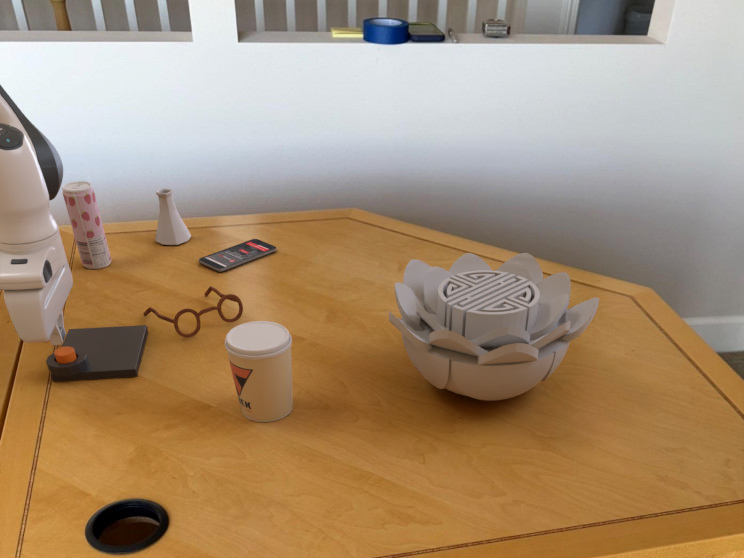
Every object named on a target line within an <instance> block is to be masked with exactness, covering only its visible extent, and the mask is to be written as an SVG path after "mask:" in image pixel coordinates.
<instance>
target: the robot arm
mask: <svg viewBox="0 0 744 558" xmlns="http://www.w3.org/2000/svg"><path fill="white" fill-rule="evenodd" d="M63 179H64V165H63V161H62V158H61V156H60V154H59V152H58V150H57V149H56V147H55V145H54V144H53V143H52V142H51V141H50V139H49V138H48V137H47V136H46V135H45V134H44V133H43V132H42V131H40V130H39V128H37V127H36V125H35V124H34V123H33V122H32V121H30V120H29V118H28V117H27V116H26V115H25V114H24V113H23V111H22V110H21V109H20V108H19V107H18V105H17V104H16V103H15V101H14V99H12V97H11V96H10V95H9V94H8V93H7V91H6V90H5V89H4V87H3V86H2V85H1V84H0V291H3V299H4V304H5V306H6V310H7V313H8V314H9V317H10V319H11V322H12V325H13V327H14V330H15V331H16V333H17V336H18V337H19V339H20V340H22V341H23V343H25V344H40V343H41V344H42V343H48V342H49V343H50V345H52V346H62V345H63V342H64V340H65V337H66V335H67V331H66V329H65V319H64V310H63V309H64V307H65V304H66V302H67V300H68V297H69V295H70V293H71V291H72V288H73V286H74V278H73V273H72V270H71V268H70V264H69V261H68V257H67V254H66V251H65V247H64V242H63V239H62V236H61V232H60V230H59V226H58V223H57V221H56V220H55V218H54V217H53V214H52V212H51V207H50V201H52V200H54V199H56V197H57V195H58V194H59V191H60V190H61V189H60V188H62V183H63Z"/></svg>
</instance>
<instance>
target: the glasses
mask: <svg viewBox="0 0 744 558" xmlns="http://www.w3.org/2000/svg"><path fill="white" fill-rule="evenodd" d="M211 292H214V293H215V294H216V295H217V296H219V299H218V302H217V304H216V306H209V307H205V308H203V309H200V311H197V310H195V309H192V308H183V309H181V310H179V311H177V313H176V314H175V316H174V317H173V318H171V317H168V316H166V315H163V314H160V313H159V312H158V311H157V310H156V309H155V308H153V307H151V306H150V307H148V308H147V309H146V310H145V311H144V312H143V313H142V314H143V317H147V316H148V315H149V314H151V312H152V313H153V315H155V316H156V317H157V318H158V319H160V320H162V321H166V322H168V323H170V324H173V327H174V330H175V332H176V333H177V334H178V335H179V336H180V337H182V338H185V339H187V338H193V337H194V336H196V335H197V334H198V333H199V332H200V330H201V316H202V315H204V314H207V313H210V312H212V311H217V313H218V315H219V317H220V318H221V320H222V321H223V322H226V323H229V324H230V323H235V322H237V321H238V320H239V319H240V318H242V315H243V312H244V307H243V302H242V300H241V298H240V297H239V296H237V295H236V294H233V293H229V294H224V293H221V292H220V291H219V290H218V289H217V288H215V287H214V286H209V287H208V288H207V289H206V291H205V292H204V297H206V298H207V297H208V296H209V295H210V294H211ZM226 300H228V301H231V302H235V303H237V304H238V313H237V314H236V316H234V317H233V318H227V317H226V316H224V313H223V311H222V310H223V309H222V305H223V303H224V302H225V301H226ZM186 313H191V314H192V315H194V317H195V320H196V327H195V329H194V330H193V331H191V332H190V333H183V332H182V331H181V329H180V328H179V327H180V326H179V319H180V317H181V316H182V315H184V314H186Z"/></svg>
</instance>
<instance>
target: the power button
mask: <svg viewBox="0 0 744 558" xmlns="http://www.w3.org/2000/svg"><path fill="white" fill-rule="evenodd" d="M53 353H54V354H55V357H56V360H57V362H58V363H60V364H65V363H70V362H73V361H75V360H76V359H77V357H76V354H75V350H74V348H72V347H68V346H66V347H62V346H61V347H58V348H56V349H55V350H54V352H53Z"/></svg>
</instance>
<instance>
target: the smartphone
mask: <svg viewBox="0 0 744 558" xmlns="http://www.w3.org/2000/svg"><path fill="white" fill-rule="evenodd" d="M275 252H277V246H275V245H273V244H270V243H269V242H266V241H263V240H261V239H258V238H252V239H249V240H246V241H244V242H240V243H238V244H235V245H232V246H230V247H227V248H224V249H220V250H219V251H216V252H214V253H211V254H208V255H204V256H202V257H199V258H198V263H199V264H201V265H203V266H205V267H207V268H209V269H212V270H214V271H216V272H217V273H223V272H226V271H228V270H230V269H231V270H232V269H233V268H237V267H239V266H241V265H244V264H247V263H248V262H249V263H250V262H251V261H255V260H257V259H260V258H262V257H264V256H267V255H270V254H273V253H275Z"/></svg>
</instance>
